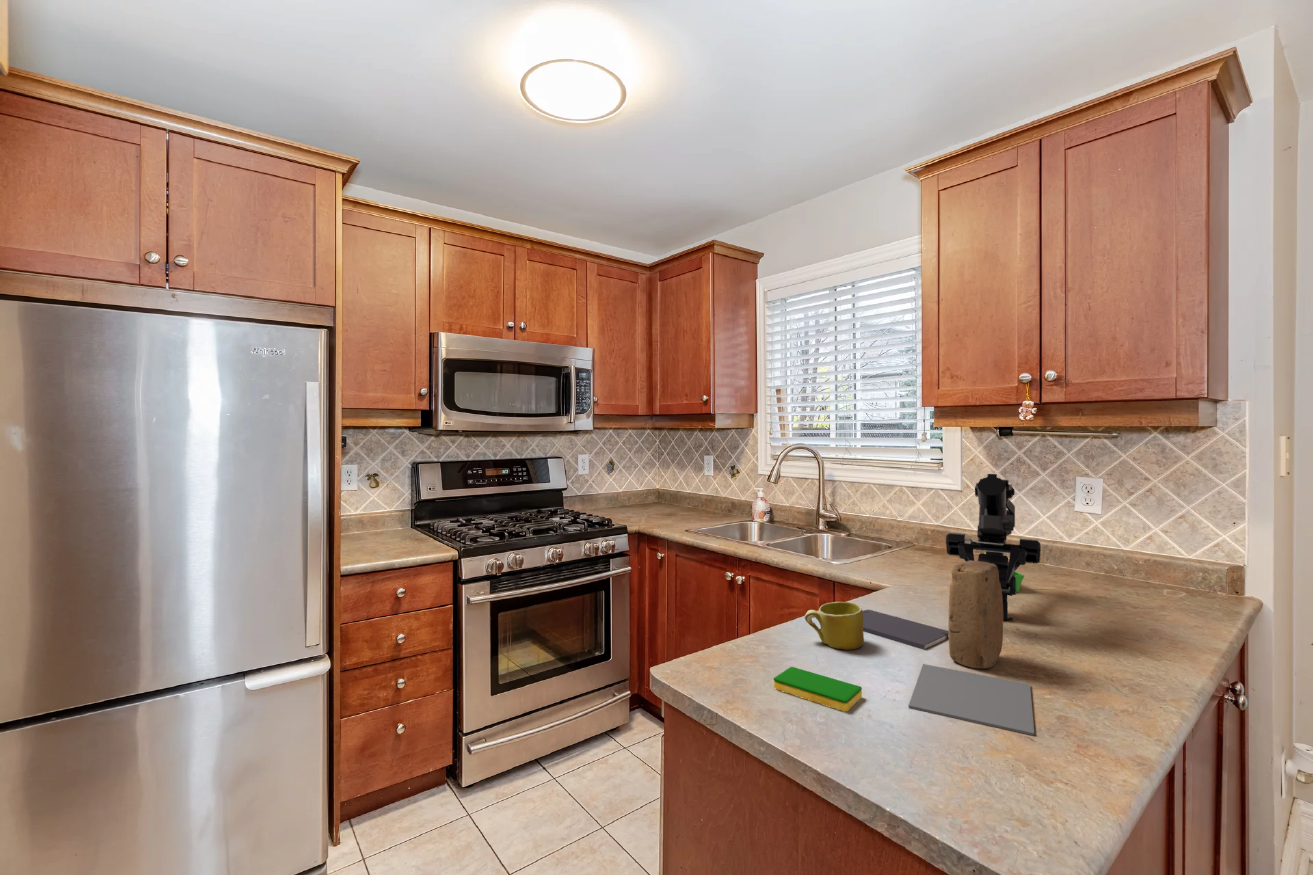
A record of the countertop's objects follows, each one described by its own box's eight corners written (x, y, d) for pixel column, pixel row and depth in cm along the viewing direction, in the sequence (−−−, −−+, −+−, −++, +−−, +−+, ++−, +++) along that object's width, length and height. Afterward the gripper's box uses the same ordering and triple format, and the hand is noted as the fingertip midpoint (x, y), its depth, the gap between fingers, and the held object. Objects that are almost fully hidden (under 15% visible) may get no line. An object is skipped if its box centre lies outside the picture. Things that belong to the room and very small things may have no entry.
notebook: (838, 625, 143) (924, 652, 126) (838, 619, 143) (924, 644, 126) (867, 615, 151) (952, 638, 134) (867, 608, 151) (952, 631, 134)
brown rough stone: (982, 674, 114) (983, 570, 113) (944, 661, 120) (944, 563, 120) (1008, 660, 120) (1009, 562, 120) (970, 649, 126) (971, 556, 126)
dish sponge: (846, 715, 99) (846, 700, 99) (772, 691, 108) (772, 677, 108) (862, 699, 105) (862, 686, 105) (791, 678, 114) (791, 665, 114)
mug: (869, 628, 134) (860, 590, 131) (870, 658, 125) (860, 618, 122) (815, 631, 139) (805, 595, 136) (811, 661, 129) (800, 622, 127)
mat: (923, 665, 118) (923, 663, 118) (1029, 685, 109) (1030, 683, 109) (908, 707, 101) (908, 705, 101) (1034, 735, 92) (1034, 733, 92)
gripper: (946, 498, 140) (942, 554, 131) (1040, 503, 131) (1042, 564, 122) (949, 526, 147) (945, 581, 138) (1038, 533, 138) (1040, 592, 129)
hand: (990, 579), depth 131 cm, fingers open, 6 cm apart
